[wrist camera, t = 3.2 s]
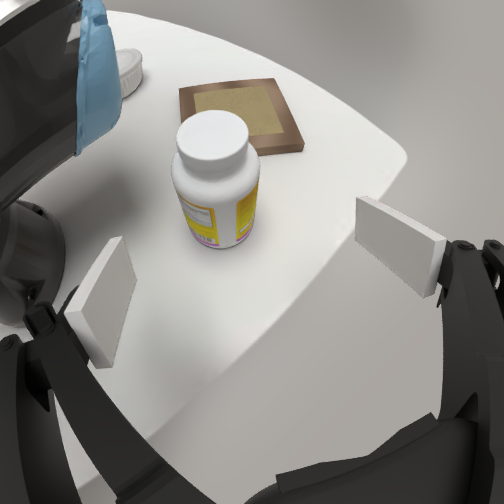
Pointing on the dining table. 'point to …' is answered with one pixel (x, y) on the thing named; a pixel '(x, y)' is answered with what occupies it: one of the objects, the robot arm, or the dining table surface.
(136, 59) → the ramekin
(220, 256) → the dining table surface
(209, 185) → the supplement bottle
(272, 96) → the walnut plinth
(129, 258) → the robot arm
